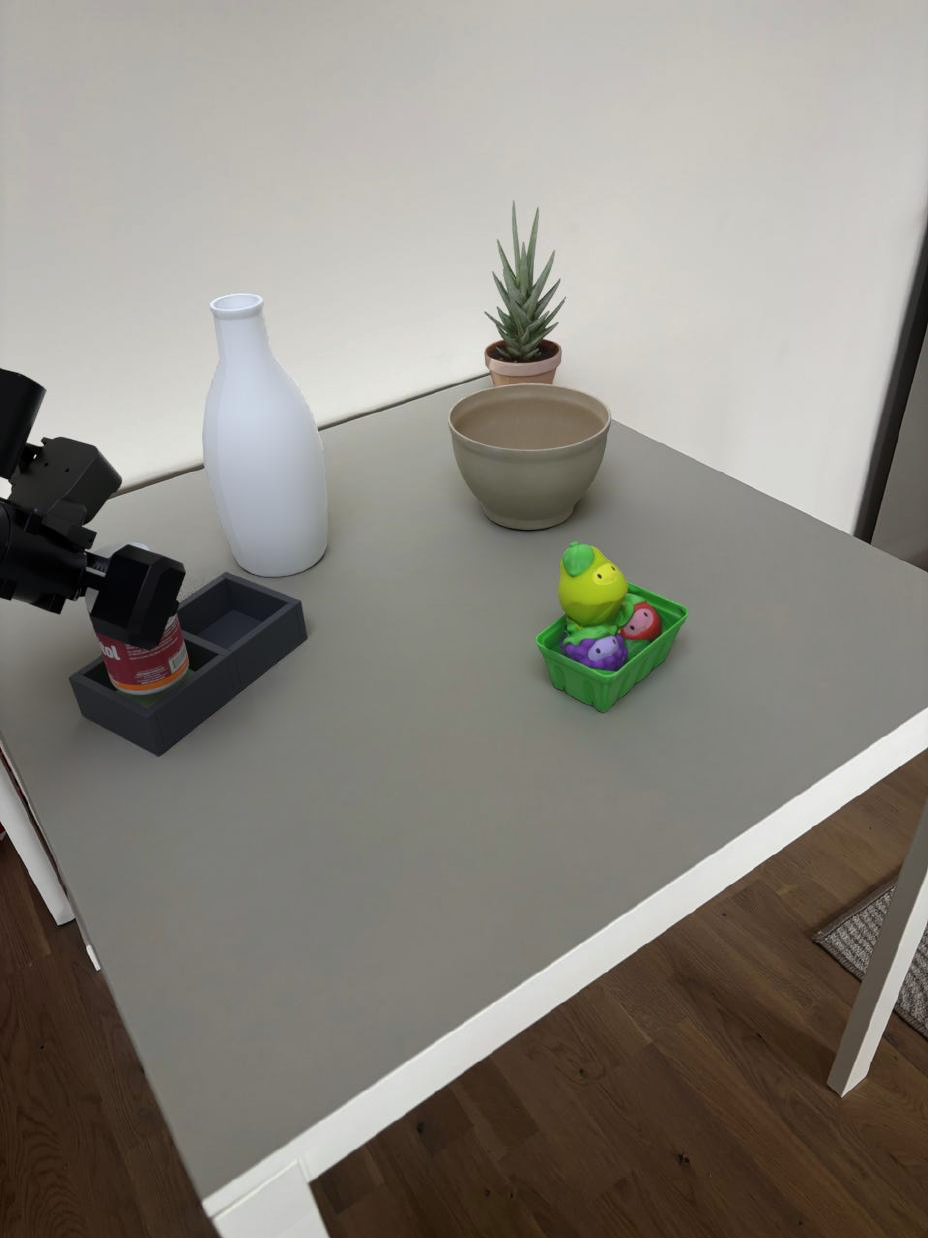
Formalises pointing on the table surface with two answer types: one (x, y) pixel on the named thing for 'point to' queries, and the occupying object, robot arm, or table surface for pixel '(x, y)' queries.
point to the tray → (199, 662)
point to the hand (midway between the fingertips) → (145, 597)
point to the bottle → (262, 449)
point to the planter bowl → (529, 450)
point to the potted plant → (523, 320)
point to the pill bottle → (141, 650)
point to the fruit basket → (605, 630)
